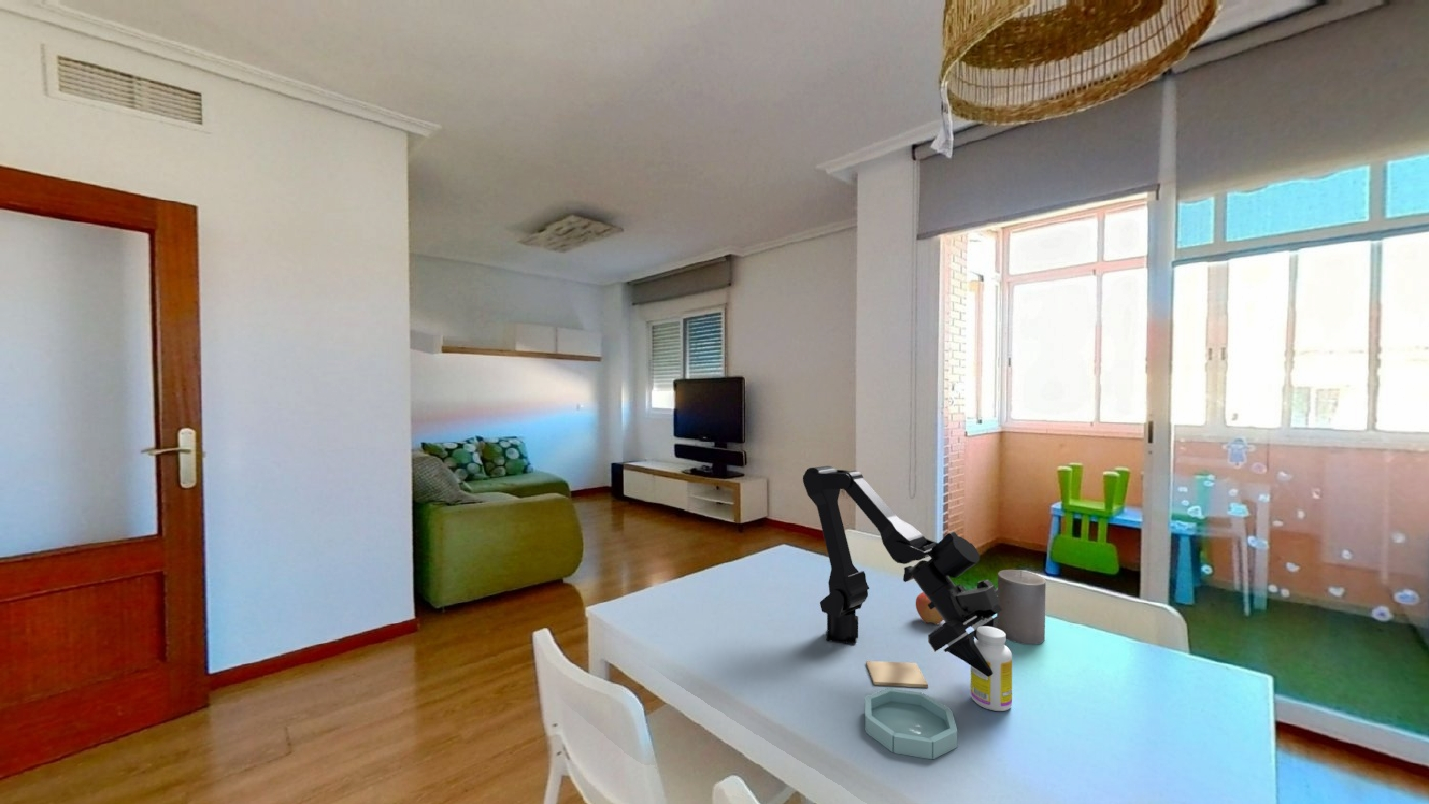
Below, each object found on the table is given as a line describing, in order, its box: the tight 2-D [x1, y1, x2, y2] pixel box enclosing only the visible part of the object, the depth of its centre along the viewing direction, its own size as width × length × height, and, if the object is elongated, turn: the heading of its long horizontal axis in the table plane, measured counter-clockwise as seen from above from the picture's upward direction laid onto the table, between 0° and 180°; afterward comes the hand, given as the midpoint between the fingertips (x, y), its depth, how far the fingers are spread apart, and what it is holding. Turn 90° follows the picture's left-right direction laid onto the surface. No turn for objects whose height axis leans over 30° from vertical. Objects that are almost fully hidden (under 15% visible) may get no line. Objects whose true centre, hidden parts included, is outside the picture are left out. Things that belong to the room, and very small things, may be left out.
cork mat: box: [865, 660, 929, 689], centre depth 105 cm, size 10×8×1 cm
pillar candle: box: [996, 569, 1047, 646], centre depth 122 cm, size 10×10×15 cm
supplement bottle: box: [970, 626, 1013, 712], centre depth 96 cm, size 7×7×13 cm
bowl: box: [864, 687, 958, 760], centre depth 88 cm, size 14×14×3 cm
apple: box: [915, 591, 944, 625], centre depth 129 cm, size 7×7×8 cm
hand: (999, 668), depth 94 cm, fingers closed on supplement bottle, 7 cm apart
